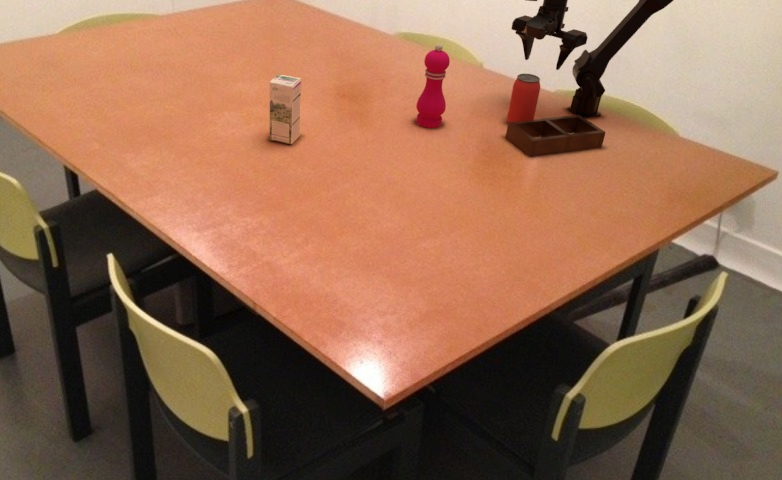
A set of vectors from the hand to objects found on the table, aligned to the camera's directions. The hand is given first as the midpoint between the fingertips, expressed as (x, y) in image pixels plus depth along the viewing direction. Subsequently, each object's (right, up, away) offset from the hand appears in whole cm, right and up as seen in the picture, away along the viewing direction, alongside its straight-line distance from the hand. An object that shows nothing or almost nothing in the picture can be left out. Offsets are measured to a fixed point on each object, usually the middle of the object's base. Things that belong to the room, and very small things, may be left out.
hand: (541, 64), depth 199 cm
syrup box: (-65, -22, -17) cm, 71 cm away
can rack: (0, -22, -11) cm, 24 cm away
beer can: (-6, -16, -2) cm, 17 cm away
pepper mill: (-30, -16, -5) cm, 34 cm away
